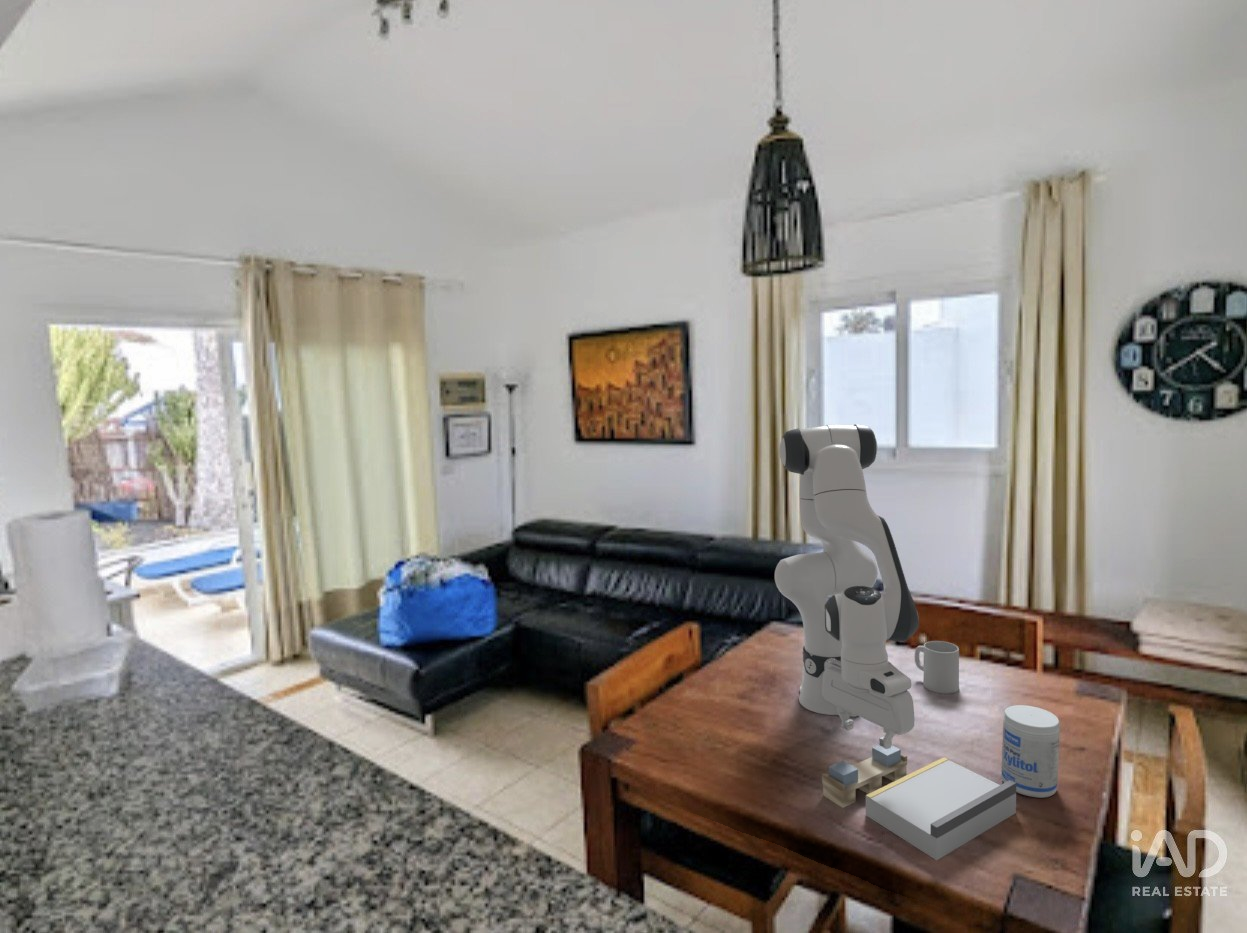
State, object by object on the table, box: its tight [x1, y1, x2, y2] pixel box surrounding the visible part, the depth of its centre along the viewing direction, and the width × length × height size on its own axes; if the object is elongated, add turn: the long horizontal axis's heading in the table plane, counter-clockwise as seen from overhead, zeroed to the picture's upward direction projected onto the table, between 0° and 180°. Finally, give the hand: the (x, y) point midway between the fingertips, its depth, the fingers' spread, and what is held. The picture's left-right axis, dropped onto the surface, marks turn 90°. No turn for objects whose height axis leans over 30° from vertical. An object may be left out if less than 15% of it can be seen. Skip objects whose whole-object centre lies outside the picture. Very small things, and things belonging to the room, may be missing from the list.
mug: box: [914, 640, 960, 695], centre depth 182 cm, size 12×8×11 cm
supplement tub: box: [1000, 704, 1061, 799], centre depth 136 cm, size 10×10×15 cm
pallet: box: [821, 752, 908, 809], centre depth 139 cm, size 19×5×4 cm, turn 120°
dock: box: [865, 757, 1017, 861], centre depth 129 cm, size 23×15×6 cm, turn 120°
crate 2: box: [871, 744, 902, 767], centre depth 142 cm, size 4×4×2 cm
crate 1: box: [828, 760, 858, 787], centre depth 136 cm, size 4×4×2 cm
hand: (866, 737), depth 138 cm, fingers open, 8 cm apart
